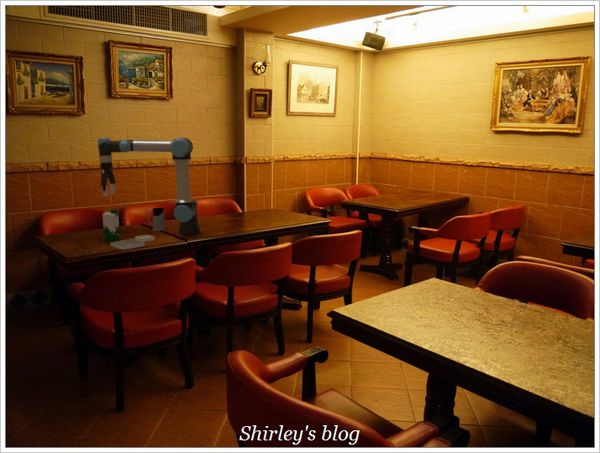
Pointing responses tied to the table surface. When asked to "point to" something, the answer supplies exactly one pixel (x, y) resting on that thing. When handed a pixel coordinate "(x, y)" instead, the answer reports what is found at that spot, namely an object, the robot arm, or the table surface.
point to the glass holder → (158, 219)
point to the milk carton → (111, 226)
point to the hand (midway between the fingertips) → (109, 194)
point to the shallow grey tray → (127, 244)
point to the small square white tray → (144, 238)
